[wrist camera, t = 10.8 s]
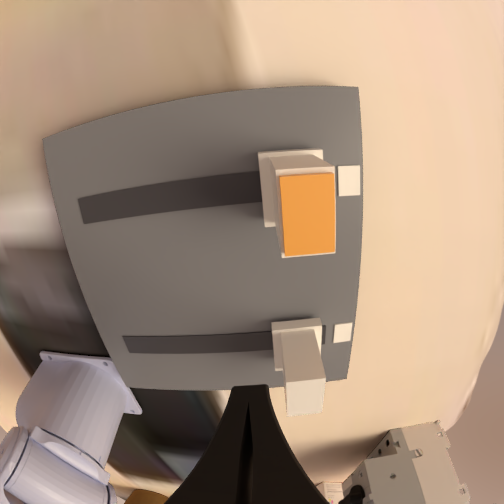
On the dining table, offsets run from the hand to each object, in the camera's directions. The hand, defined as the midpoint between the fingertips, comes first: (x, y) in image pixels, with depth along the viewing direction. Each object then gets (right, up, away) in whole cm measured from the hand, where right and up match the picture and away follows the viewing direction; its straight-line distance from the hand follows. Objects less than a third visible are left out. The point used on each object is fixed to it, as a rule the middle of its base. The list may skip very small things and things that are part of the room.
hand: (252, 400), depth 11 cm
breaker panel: (-3, +5, +8) cm, 10 cm away
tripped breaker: (+2, +9, +4) cm, 10 cm away
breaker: (+3, 0, +8) cm, 8 cm away
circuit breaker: (+17, -19, +19) cm, 32 cm away
